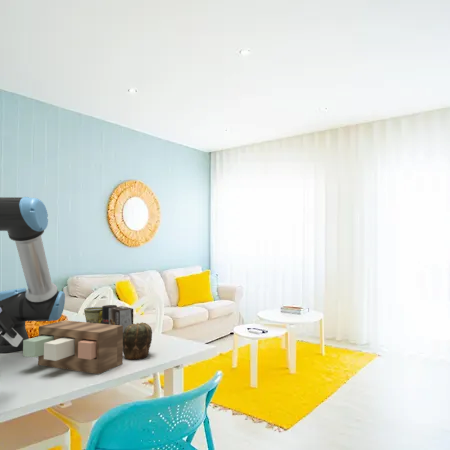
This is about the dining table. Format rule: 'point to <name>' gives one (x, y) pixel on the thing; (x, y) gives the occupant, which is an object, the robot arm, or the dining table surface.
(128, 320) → the coffee box
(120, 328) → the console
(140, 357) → the shell
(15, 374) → the dining table surface
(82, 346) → the key terracotta
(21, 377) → the dining table surface
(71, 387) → the dining table surface
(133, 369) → the dining table surface
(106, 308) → the deodorant
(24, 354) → the key sage
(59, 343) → the key cream
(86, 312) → the ceramic cup
